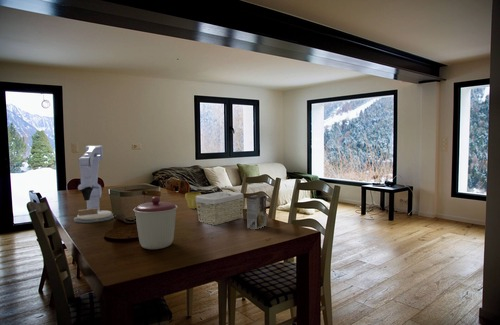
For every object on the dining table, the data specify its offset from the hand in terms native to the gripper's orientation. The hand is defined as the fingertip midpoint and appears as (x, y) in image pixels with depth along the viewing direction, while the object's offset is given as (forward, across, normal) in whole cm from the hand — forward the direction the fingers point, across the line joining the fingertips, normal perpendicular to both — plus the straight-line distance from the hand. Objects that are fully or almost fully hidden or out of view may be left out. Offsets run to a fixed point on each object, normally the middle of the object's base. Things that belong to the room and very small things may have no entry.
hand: (86, 200), depth 194 cm
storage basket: (+11, +6, +79) cm, 80 cm away
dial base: (+10, +2, +5) cm, 12 cm away
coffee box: (+11, +22, +100) cm, 103 cm away
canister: (+12, +53, +58) cm, 79 cm away
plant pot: (+10, -29, +57) cm, 65 cm away
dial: (+9, +2, +5) cm, 11 cm away
